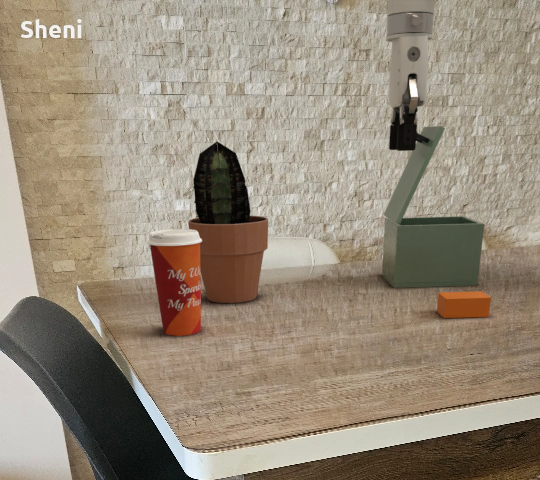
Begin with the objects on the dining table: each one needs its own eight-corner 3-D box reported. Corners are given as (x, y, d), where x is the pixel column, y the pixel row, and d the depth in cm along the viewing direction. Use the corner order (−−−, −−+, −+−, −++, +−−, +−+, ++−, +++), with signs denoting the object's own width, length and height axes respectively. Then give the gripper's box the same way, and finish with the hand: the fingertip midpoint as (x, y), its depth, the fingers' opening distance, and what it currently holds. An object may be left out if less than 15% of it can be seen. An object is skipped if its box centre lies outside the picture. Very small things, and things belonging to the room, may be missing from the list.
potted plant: (284, 300, 116) (282, 139, 105) (213, 310, 111) (203, 142, 99) (248, 287, 127) (243, 140, 115) (181, 295, 121) (169, 142, 110)
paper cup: (180, 340, 95) (171, 237, 88) (145, 332, 99) (135, 233, 93) (219, 329, 100) (213, 230, 93) (184, 321, 104) (176, 227, 98)
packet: (479, 310, 107) (482, 291, 105) (488, 317, 103) (491, 297, 101) (436, 311, 107) (438, 292, 105) (443, 318, 103) (445, 298, 101)
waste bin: (458, 273, 135) (464, 216, 130) (477, 285, 123) (484, 223, 118) (381, 275, 134) (384, 218, 129) (393, 287, 123) (397, 226, 118)
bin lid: (427, 128, 122) (403, 116, 121) (445, 128, 111) (418, 114, 110) (386, 216, 129) (363, 205, 128) (399, 224, 118) (374, 212, 117)
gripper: (445, 21, 102) (434, 150, 111) (420, 35, 118) (412, 148, 126) (397, 22, 102) (389, 151, 111) (378, 36, 118) (372, 149, 126)
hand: (401, 149), depth 118 cm, fingers open, 6 cm apart
